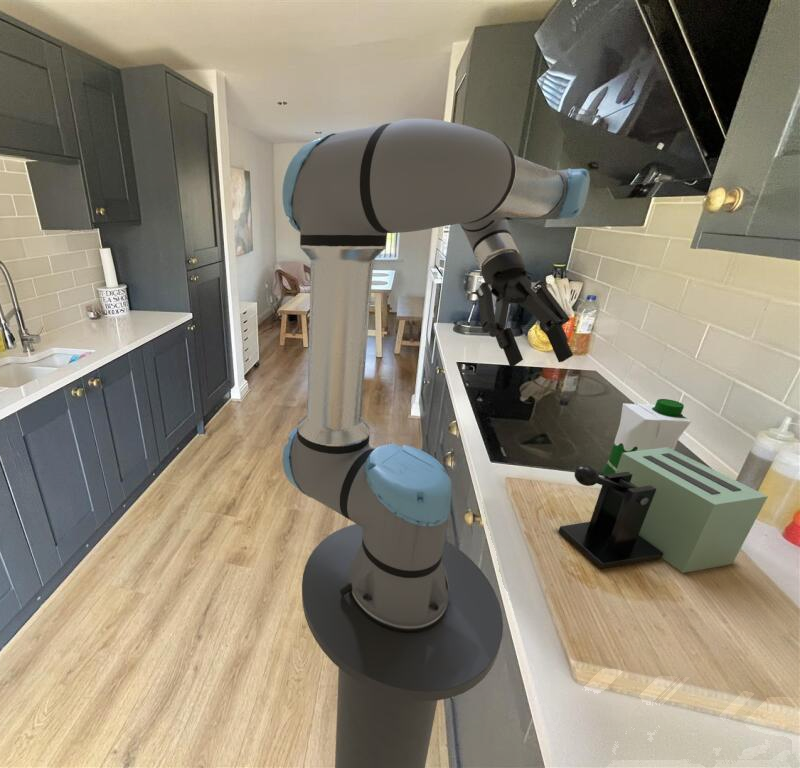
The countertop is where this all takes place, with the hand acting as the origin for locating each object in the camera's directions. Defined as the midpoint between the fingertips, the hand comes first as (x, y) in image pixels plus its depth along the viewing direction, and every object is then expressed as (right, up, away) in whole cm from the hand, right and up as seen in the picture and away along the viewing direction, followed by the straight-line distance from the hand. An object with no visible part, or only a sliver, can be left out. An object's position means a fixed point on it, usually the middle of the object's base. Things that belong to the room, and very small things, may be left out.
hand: (541, 360), depth 72 cm
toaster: (+23, -32, +1) cm, 40 cm away
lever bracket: (+11, -33, -1) cm, 35 cm away
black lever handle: (+6, -22, -6) cm, 24 cm away
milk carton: (+29, -27, +15) cm, 42 cm away
